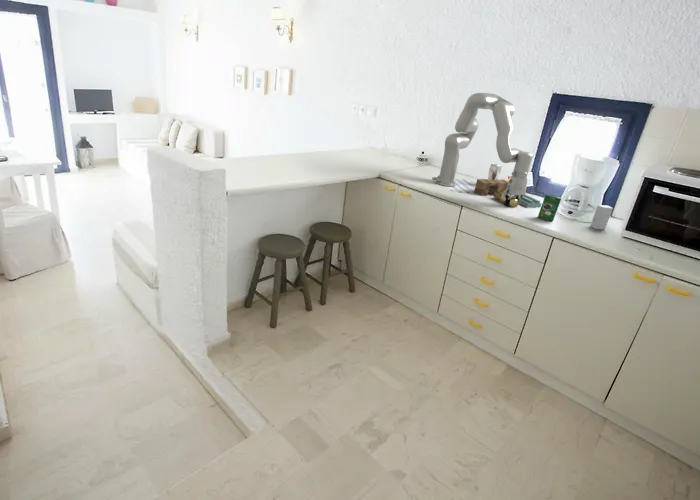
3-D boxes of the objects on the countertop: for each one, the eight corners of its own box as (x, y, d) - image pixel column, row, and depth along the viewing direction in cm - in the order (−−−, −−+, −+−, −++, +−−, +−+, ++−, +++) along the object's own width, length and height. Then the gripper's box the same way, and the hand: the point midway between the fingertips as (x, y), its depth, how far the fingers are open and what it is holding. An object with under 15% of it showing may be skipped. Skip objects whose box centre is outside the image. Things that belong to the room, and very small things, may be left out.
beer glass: (496, 189, 265) (502, 166, 259) (485, 188, 266) (491, 165, 260) (495, 187, 271) (501, 164, 265) (484, 185, 272) (490, 163, 266)
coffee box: (553, 220, 219) (561, 197, 213) (553, 222, 217) (561, 198, 211) (537, 216, 222) (545, 193, 217) (537, 218, 220) (544, 194, 214)
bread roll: (517, 207, 234) (519, 199, 232) (510, 208, 232) (512, 199, 230) (499, 198, 247) (501, 190, 245) (492, 198, 246) (494, 190, 243)
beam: (481, 195, 248) (485, 183, 244) (474, 191, 254) (477, 179, 251) (508, 195, 255) (512, 183, 251) (500, 191, 261) (503, 179, 258)
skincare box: (599, 226, 219) (608, 205, 214) (604, 229, 215) (613, 208, 210) (589, 225, 218) (597, 204, 213) (594, 229, 214) (603, 207, 209)
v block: (526, 207, 236) (528, 201, 234) (510, 199, 247) (512, 193, 246) (540, 207, 239) (542, 201, 237) (523, 199, 251) (525, 193, 249)
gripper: (511, 176, 221) (502, 207, 229) (536, 176, 227) (526, 207, 235) (502, 172, 228) (494, 203, 235) (527, 173, 233) (518, 203, 241)
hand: (510, 205), depth 235 cm, fingers open, 5 cm apart
